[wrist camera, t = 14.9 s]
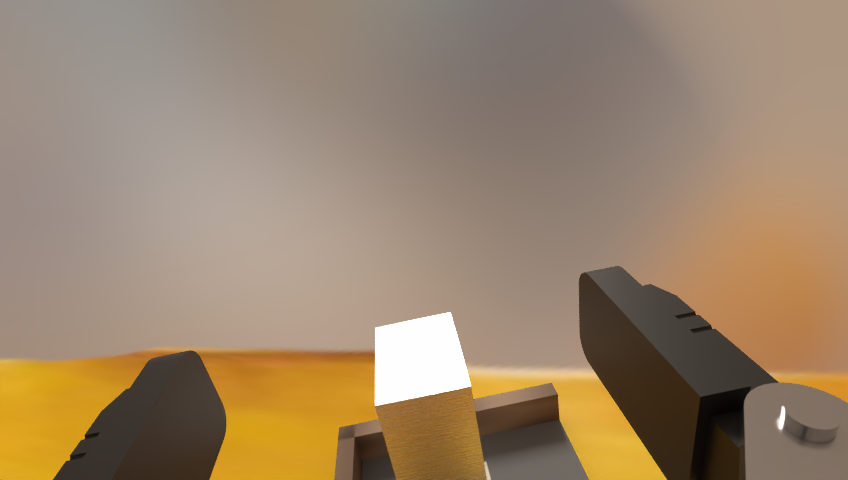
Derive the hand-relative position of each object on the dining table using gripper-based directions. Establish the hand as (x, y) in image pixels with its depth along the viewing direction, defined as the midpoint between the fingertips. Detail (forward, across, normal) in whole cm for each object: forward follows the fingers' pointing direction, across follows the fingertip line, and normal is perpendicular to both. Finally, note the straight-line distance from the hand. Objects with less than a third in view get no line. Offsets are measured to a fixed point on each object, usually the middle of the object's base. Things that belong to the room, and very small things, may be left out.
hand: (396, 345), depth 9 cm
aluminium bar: (+7, 0, +17) cm, 19 cm away
